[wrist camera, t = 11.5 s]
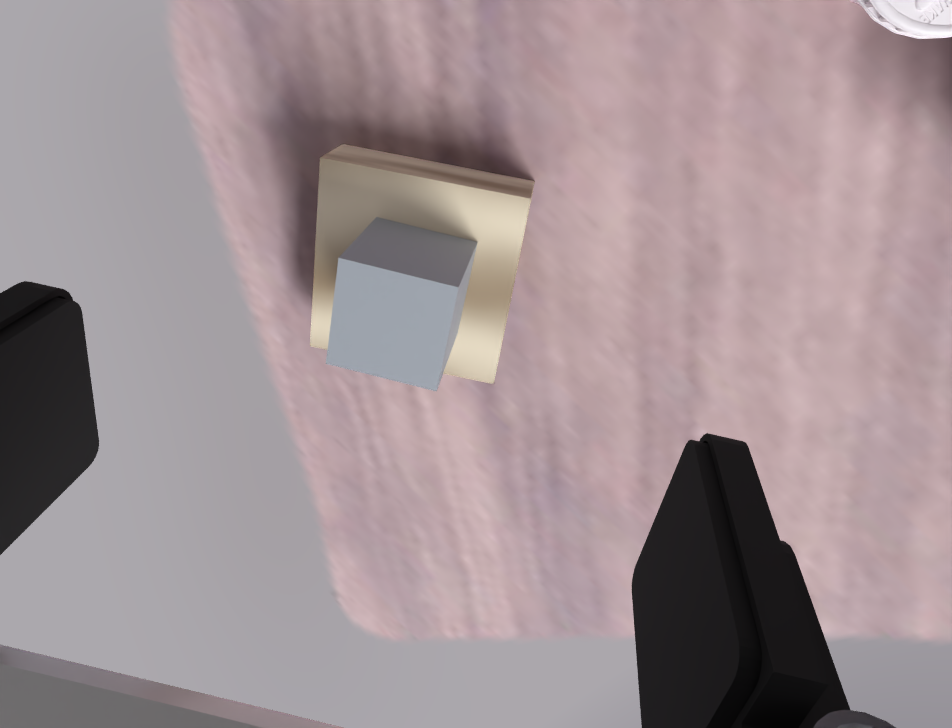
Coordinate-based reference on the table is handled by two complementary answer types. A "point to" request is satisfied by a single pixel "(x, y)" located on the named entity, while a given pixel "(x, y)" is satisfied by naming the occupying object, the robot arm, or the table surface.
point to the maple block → (433, 208)
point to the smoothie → (912, 16)
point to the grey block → (399, 302)
